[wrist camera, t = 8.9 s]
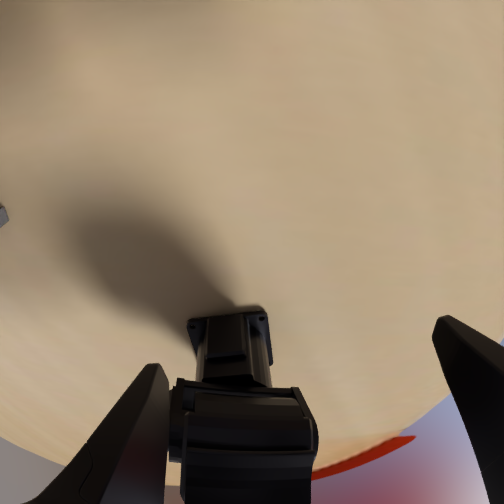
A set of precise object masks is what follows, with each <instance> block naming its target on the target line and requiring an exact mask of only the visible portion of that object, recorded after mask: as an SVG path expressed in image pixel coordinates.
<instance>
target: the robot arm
mask: <svg viewBox="0 0 504 504" xmlns="http://www.w3.org/2000/svg"><path fill="white" fill-rule="evenodd" d="M260 316H263V317H262V318H259V317H260ZM191 325H195V326H191ZM186 327H187V330H188V333H189V336H190V339H191V342H192V345H193V348H194V350H195V353H196V356H197V367H196V381H189V380H185V379H184V378H177V382H176V386H173V389H172V390H169V382H168V379H167V377H166V375H165V373H164V370H163V368H162V366H161V365H160V364H159V363H152V364H147V365H146V366H145V367H144V368H143V369H142V371H141V372H140V373H139V374H138V376H137V377H136V378H135V380H134V381H133V382H132V383H131V385H130V386H129V387H128V388H127V390H126V391H125V392H124V394H123V395H122V396H121V397H120V399H119V400H118V401H117V403H116V404H115V405H114V406H113V408H112V409H111V410H110V412H109V413H108V414H107V416H106V417H105V418H104V419H103V421H102V422H101V423H100V425H99V426H98V427H97V429H96V430H95V431H94V432H93V434H92V435H91V436H90V438H89V439H88V440H87V443H85V444H84V445H83V447H82V448H81V449H80V451H79V452H78V453H77V454H76V456H75V457H74V458H73V459H72V460H71V462H70V463H69V464H68V465H67V466H66V467H65V468H64V469H63V470H62V472H61V473H60V474H59V475H58V476H57V477H56V478H55V479H54V480H53V481H52V482H51V483H50V484H49V485H48V486H47V487H46V488H45V489H44V490H43V491H42V492H41V493H40V494H39V495H38V496H37V497H35V498H34V499H32V500H30V501H28V502H26V503H23V504H164V488H165V475H166V462H167V451H169V462H176V463H181V480H180V494H181V497H182V499H183V501H184V503H185V504H311V474H312V466H313V462H314V460H315V458H316V455H317V451H318V444H319V436H318V429H317V424H316V422H315V419H314V417H313V415H312V413H311V411H310V409H309V407H308V405H307V403H306V401H305V399H304V397H303V395H302V393H301V391H300V389H299V387H291V388H272V382H271V375H270V368H269V366H271V365H272V364H273V357H272V348H271V340H270V332H269V323H268V316H267V313H266V312H265V311H254V312H247V313H239V314H231V315H223V316H214V317H206V318H196V319H190V320H188V321H187V325H186ZM432 341H433V344H434V347H435V350H436V353H437V356H438V358H439V361H440V364H441V367H442V371H443V373H444V376H445V379H446V381H447V384H448V386H449V388H450V391H451V393H452V395H453V397H454V400H455V402H456V405H457V407H458V410H459V412H460V415H461V417H462V420H463V422H464V425H465V428H466V430H467V433H468V436H469V438H470V441H471V444H472V447H473V449H474V452H475V455H476V458H477V461H478V465H479V468H480V471H481V474H482V478H483V481H484V484H485V488H486V491H487V495H488V499H489V502H490V504H504V347H503V346H501V345H500V344H498V343H497V342H495V341H493V340H491V339H490V338H488V337H486V336H485V335H483V334H481V333H480V332H478V331H476V330H475V329H473V328H471V327H469V326H468V325H466V324H464V323H462V322H461V321H459V320H457V319H455V318H454V317H452V316H450V315H445V316H441V317H439V318H438V319H437V321H436V324H435V327H434V331H433V334H432Z"/></svg>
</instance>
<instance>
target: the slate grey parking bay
mask: <svg viewBox="0 0 504 504" xmlns="http://www.w3.org/2000/svg"><path fill="white" fill-rule="evenodd" d="M8 221H9V219H8V216H7V213H6V211H5V208H4V207H2V208H0V227H2V226H3V225H4V224H5V223H6V222H8Z"/></svg>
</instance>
